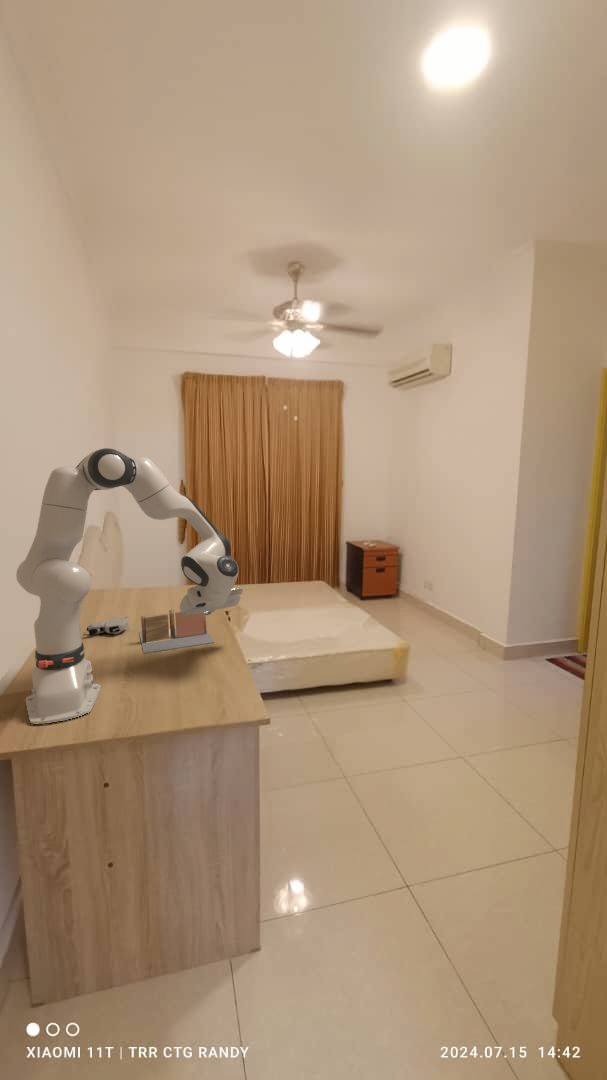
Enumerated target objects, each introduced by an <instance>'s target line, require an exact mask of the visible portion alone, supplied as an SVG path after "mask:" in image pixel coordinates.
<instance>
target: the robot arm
mask: <svg viewBox="0 0 607 1080" xmlns="http://www.w3.org/2000/svg"><path fill="white" fill-rule="evenodd" d="M45 485H46V486H45V488H44V492H43V495H42V499H41V500H42V501H41V506H40V511H39V516H38V524H37V529H36V533H35V536H34V539H33V541H32V543H31V545H30V548H29V550H28V552H27V555H26V556H25V559H24V560H23V561H22V562H21V563H20V564H19V566H18V568H17V570H16V581H17V583H18V584H19V585H20V587H21V588H22V589H23V590H24V591H26V592H27V593H29V594H30V595H31V594H32V595H33V596H36V597H39V601H40V606H39V612H38V617H37V618H36V620H35V621H34V624H33V628H34V636H35V637H34V639H35V648H36V649H35V652H34V661H35V667H34V668H33V669H32V670H31V677H32V678H31V679H32V687H33V688H31V689H30V694H31V695H28V696H27V697H26V698H25V707H26V706H27V707H26V712H27V711H28V712H27V716H28V715H29V717H28V721H29V720H30V722H32V723H47V722H54V721H63V720H67V721H69V720H68V719H71V720H73V719H72V718H75V717H78V718H80V717H79V716H81V717H83V716H82V715H84V714H86V713H88V714H90V713H91V712H90V711H92V710H91V709H93V707H94V705H95V703H96V700H97V699H98V696H99V694H100V692H101V689H102V688H101V687H102V686H101V684H99V683H94V678H93V677H94V676H93V669H92V662H91V661H90V660H88V659H86V657H85V647H84V643H83V642H82V631H81V610H82V605H83V601H84V598H85V597H86V596H88V593H89V592H90V590H91V587H92V578H91V575H90V574H89V572H88V571H87V570H86V569H85V568H83V567H82V566H81V565H79V564H77V563H76V562H73V561H70V559H71V556H72V553H73V551H74V550H75V548H76V546H77V545H78V544H79V543H80V542H81V541H82V539H83V536H84V531H85V524H86V517H87V514H88V513H87V511H88V504H89V500H90V496H91V494H92V493H93V492H94V491H107V490H112V489H115V488H119V487H123V488H124V489H126V490H127V491H128V492H129V493H130V494H131V496H132V497H133V498H134V501H135V502H136V503H137V505H138V506H139V508H140V509H141V511H142V512H143V513H144V514H145V516H147V517H149V518H151V519H153V520H158V521H159V520H160V521H163V520H165V521H166V520H169V519H175V518H182V519H185V520H186V521H187V522H188V523H189V525H190V526H191V527H192V528H193V529H194V530H195V531H196V532H197V534H198V535H199V536H200V542H198V544H196V545H195V546H194V547H193V548H191V549H190V550H189V551H188V552H187V553H186V554H185V555H184V556H183V557H182V558H181V561H180V566H181V570H182V573H183V575H184V576H185V578H186V579H187V580H189V582H192V583H193V584H195V585H194V586H192V587H190V588H188V589H187V590H186V594H185V595H184V596H183V598H182V600H181V602H180V604H179V610H180V611H181V613H182V615H183V616H187V615H192V614H197V613H202V616H206V617H207V616H209V615H212V614H213V613H214V612H215V611H216V610H221V609H226V608H232V607H236V606H238V605H239V604H240V601H241V595H242V594H243V592H244V590H243V588H240V587H235V584H236V582H237V580H238V576H239V566H238V563H237V561H236V560H235V559H234V558H233V557H231V555H232V546H231V543H230V540H229V539H228V538H227V536H226V535H224V534H223V533H222V532H221V531H219V530H218V528H217V527H216V526H215V524H213V523H212V522H211V520H210V519H209V518H208V516H206V514H205V513H204V512H203V511H202V510H201V509H200V507H199V506H198V505H197V504H196V502H194V501H193V500H192V499H191V498H190V497H189V496H187V494H181V493H179V492H178V491H177V490H175V489H174V487H173V486H172V484H170V482H169V480H168V479H167V478H166V476H165V475H164V473H163V472H162V471H161V469H160V468H159V467H158V466H157V465H156V464H155V463H154V462H153V460H152V459H150V458H148V457H146V456H139V457H135V458H131V457H129V456H128V455H126V454H124V453H122V452H121V451H119V450H116V449H113V448H106V447H105V448H100V449H96V450H94V451H91V452H90V453H89V454H87V456H85V457H84V458H83V459H82V460H81V461H80V462H79V463H78V465H77V466H75V467H72V466H60V467H57V468H55V469H54V470H52V472H51V473H50V474H49V477H48V480H47V482H46V484H45ZM89 712H90V713H89ZM86 715H87V714H86ZM84 716H85V715H84ZM75 719H76V718H75ZM41 720H42V721H41ZM30 722H29V723H30ZM63 722H64V721H63Z"/></svg>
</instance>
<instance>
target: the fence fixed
mask: <svg viewBox="0 0 607 1080" xmlns="http://www.w3.org/2000/svg"><path fill="white" fill-rule="evenodd" d="M168 613H169V614H168ZM168 613H161V614H154V615H146V616H145V615H142V616H140V620H141V621H140V623H141V632H142V638H143V643H147V642H154V641H161V640H167V639H169V628H170V634H171V639H175V627H176V623H175V612H174V609H170V610H168Z"/></svg>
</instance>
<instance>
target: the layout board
mask: <svg viewBox="0 0 607 1080" xmlns="http://www.w3.org/2000/svg"><path fill="white" fill-rule="evenodd" d="M138 634H139V637H140V643H141V646H142V650H143V654H144V655H145V654H152V653H157V652H163V651H165V652H166V651H170V650H177V649H183V648H189V647H196V646H197V647H198V646H203V645H204V646H205V645H209V644H215V642H214V640H213V638H212V637H211V635H210V633H209V631H207V634H199V635H192V636H185V637H178V638H177V634H176V629H175V639H171V634H170V627H169V639H167V640H161V641H154V642H147V643H143V638H142V631H140V632H138Z"/></svg>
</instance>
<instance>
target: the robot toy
mask: <svg viewBox="0 0 607 1080" xmlns="http://www.w3.org/2000/svg"><path fill="white" fill-rule="evenodd" d="M128 618H129V616H124V617H123V616H121V617H115V618H111V619H109V620H107V622H105V621H96V622H93V623H91V624H89V625H88V626H87V627H86V631H85V632H83V633H84V635H85V636H88V635H89V636H92V635H95V636H96V635H99V634H104V633H105V632H106V633H107V634H113V635H119V634H120V633H121V632H124V631H125V630H126V629H127V628H128V627H129V621H128Z"/></svg>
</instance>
